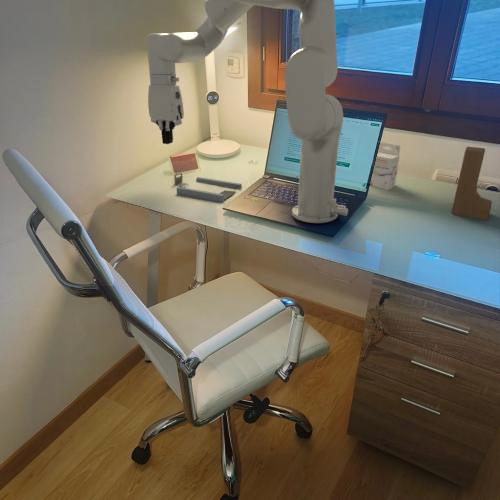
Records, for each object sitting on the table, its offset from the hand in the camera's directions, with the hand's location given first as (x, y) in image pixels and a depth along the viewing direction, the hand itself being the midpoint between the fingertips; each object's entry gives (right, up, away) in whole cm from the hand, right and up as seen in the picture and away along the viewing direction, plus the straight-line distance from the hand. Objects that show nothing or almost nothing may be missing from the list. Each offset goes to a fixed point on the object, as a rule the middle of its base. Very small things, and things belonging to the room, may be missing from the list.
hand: (167, 142), depth 137 cm
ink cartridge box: (+66, -15, +1) cm, 67 cm away
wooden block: (+85, -24, -17) cm, 90 cm away
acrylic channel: (+13, -15, 0) cm, 20 cm away
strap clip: (+2, -13, +7) cm, 15 cm away
